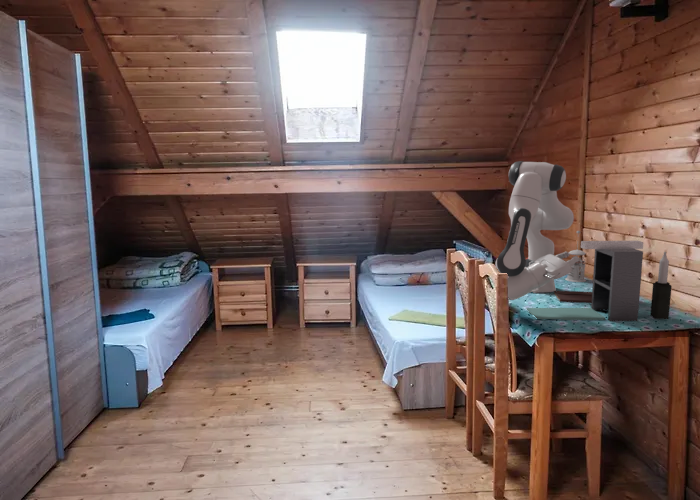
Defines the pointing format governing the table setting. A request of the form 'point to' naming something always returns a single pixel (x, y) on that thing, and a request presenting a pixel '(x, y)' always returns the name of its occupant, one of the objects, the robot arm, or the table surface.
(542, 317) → the mat
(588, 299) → the notebook
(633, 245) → the aluminium strip
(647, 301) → the table surface
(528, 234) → the robot arm
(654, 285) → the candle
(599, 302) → the rack
